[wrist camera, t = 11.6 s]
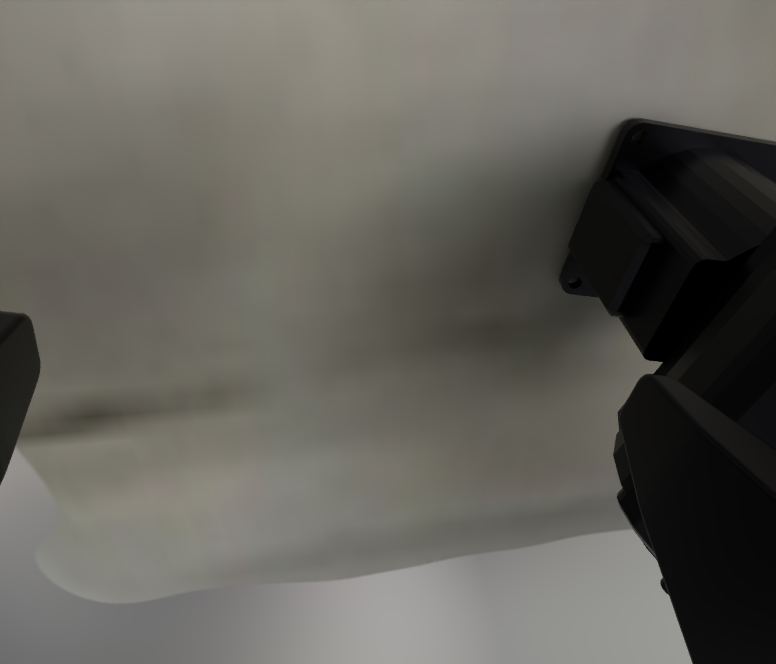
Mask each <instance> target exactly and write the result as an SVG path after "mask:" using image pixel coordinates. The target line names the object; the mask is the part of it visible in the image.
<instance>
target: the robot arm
mask: <svg viewBox="0 0 776 664" xmlns="http://www.w3.org/2000/svg"><path fill="white" fill-rule="evenodd" d="M641 130H643V132H642V136H641V137H640V139H638V140H637V141H634V142H631V141H632V137H633V135H634V134H635V133H636V132H638V131H641ZM568 247H569V249H570V252H569V255H568V257H567V259H566V262H565V264H564V266H563V269H562V271H561V274H560V276H559V282H560V285H561V287H562V289H563V290H564V291H565V292H566V293H569V294H574V295H582V296H591V297H599V298H600V300H601V302H602V303H603V305H604V306H605V308H606V310H607V311H608V313H609V314H610V315H611V316H615V317H619V318H620V320H621V322H622V323H623V325H624V326H625V328H626V330H627V331H628V333H629V334H630V336H631V338H632V339H633V341H634V342H635V344H636V346H637V347H638V349H639V350H640V352H641V353H642V355H643V357H644V358H645V359H646V360H649V361H659V362H663V363H662V364H661V366H660V367H659V368H658V369H657V370H656V372H655V373H654V374H646V375H644V376H642V377H641V378H640V379H639V381H638V382H637V384H636V386H635V387H634V389H633V391H632V392H631V394H630V396H629V398H628V399H627V401H626V403H625V404H624V405H623V406H622V407H621V409H620V410H619V411H618V421H619V432H618V433H617V434H616V440H615V447H614V453H613V456H614V460H615V464H616V467H617V471H618V475H619V479H620V482H621V485H622V487H623V488H622V489H621V490H620V491H619V492H618V495H617V499H618V502H619V505H620V508H621V510H622V511H623V513H624V515H625V516H626V518H627V520H628V521H629V523H630V525H631V526H632V528H633V530H634V531H635V533H636V534H637V535H638V536H639V538H640V539H641V540H642V542H643V543H644V545H645V546H646V548H647V549H648V550H649V551H650V553H651V554H652V555H653V556H654V557H655V558H656V560H657V561H658V564H659V567H660V570H661V573H662V576H663V578H662V580H661V586H662V588H663V590H664V591H665V592H666V593H667V594H668V595H669V596H670V599H671V602H672V605H673V608H674V611H675V614H676V617H677V620H678V623H679V625H680V628H681V631H682V634H683V637H684V640H685V643H686V646H687V649H688V651H689V654H690V657H691V660H692V663H693V664H776V142H772V141H766V140H761V139H755V138H749V137H744V136H738V135H732V134H727V133H721V132H715V131H710V130H704V129H698V128H693V127H687V126H681V125H676V124H670V123H665V122H659V121H653V120H648V119H642V118H639V119H633V120H631V121H629V122H628V123H627V124H625V125H624V126H623V128H622V130H621V131H620V134H619V136H618V138H617V141H616V143H615V145H614V148H613V150H612V153H611V155H610V157H609V160H608V162H607V164H606V167H605V169H604V172H603V174H602V176H601V179H599V180H598V181H597V182H596V183H594V185H593V187H592V189H591V192H590V194H589V197H588V199H587V201H586V204H585V206H584V209H583V211H582V213H581V216H580V218H579V221H578V223H577V225H576V228H575V230H574V233H573V235H572V237H571V240H570V242H569V245H568ZM575 277H579V278H578V279H577V281H575V282H573V283H569V281H570V280H571V279H573V278H575ZM39 374H40V357H39V352H38V347H37V343H36V338H35V333H34V329H33V324H32V321H31V319H30V318H29V316H27V315H26V314H23V313H14V312H4V311H0V484H1V482H2V480H3V478H4V476H5V473H6V471H7V468H8V465H9V463H10V460H11V457H12V454H13V451H14V448H15V445H16V443H17V440H18V437H19V434H20V431H21V428H22V425H23V422H24V419H25V416H26V413H27V410H28V408H29V405H30V402H31V399H32V396H33V393H34V390H35V387H36V384H37V381H38V378H39Z"/></svg>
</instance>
